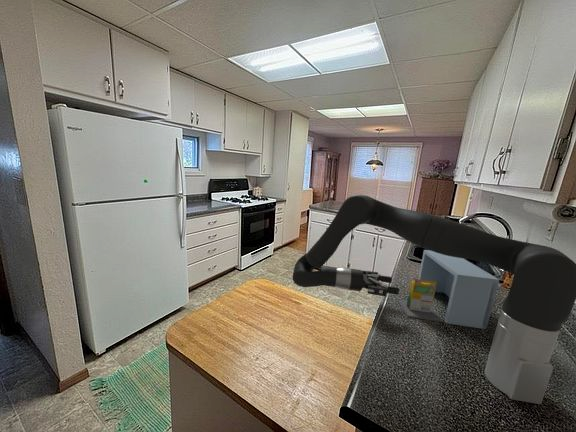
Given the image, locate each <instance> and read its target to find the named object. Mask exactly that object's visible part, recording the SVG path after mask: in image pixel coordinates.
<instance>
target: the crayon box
mask: <svg viewBox="0 0 576 432" xmlns="http://www.w3.org/2000/svg"><path fill="white" fill-rule="evenodd" d="M424 282H428V283H424ZM436 284H437V282H435V281H427V280H418V278H417V279H416V278H414V280H410V284H409V290H408V295H407V296H408V297H407V300H406V301H407V307H408V308H409V310H415V311H423V312H429V313H431V309H432V308H433V303H434V299H435V294H436V292H435V289H436Z"/></svg>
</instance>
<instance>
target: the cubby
mask: <svg viewBox="0 0 576 432" xmlns="http://www.w3.org/2000/svg"><path fill="white" fill-rule="evenodd" d="M422 253H423V254H422V259H421V264H420V268H419V274H418V278H417V279H418V280H427V281H435V282H437V284H436V289H435V293H441V294H442V293H443V294H444V295H446V296H447V297H448V303H447V309H446V312H445V317H444V322H445V323H446V324H449V325H456V326H463V327H468V328H477V329H481V330H482V329H484V330H487V327H488V325H489V321H490V317H491V312H492V308H493V306H494V301H495V298H496V294H497V290H498V286H499V284H500V279H499V278H498V277H496V276H494V275H492V274H491V273H489V272H487V271H485V270H484V269H482V268H481V267H479V266H477V265H475V264H474V263H473V262H470V261H468V259H464V258H457V257H452V256H447V255H443V254H439V253H436V252H433V251H431V250H428V249H423V251H422ZM424 283H428V282H424Z"/></svg>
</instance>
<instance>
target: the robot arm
mask: <svg viewBox="0 0 576 432" xmlns="http://www.w3.org/2000/svg"><path fill="white" fill-rule="evenodd" d="M359 225H360V226H361V225H369V226H374V227H378V228H380V229H384V230H387V231H390V232H392V233H394V234H395V235H397V236H398V237H400V238H401V239H404V240H405V241H407V242H409V243H411V244H413V245H415V246H417V247H420V248H423V249H424V250H430V251H433V252H436V253H439V254H443V255H447V256H452V257H457V258H464V259H465V260H472V261H476V262H481V263H483V264H488V265H490V266H493V267H495V268H497V269H500V270H502V271H504V272H508V273H509V274H511V275H513V277H512V281H511V284H510V287H509V291H508V294H507V296H506V297H505V298H504V300H503V302H502V303H503V304H502V305H501V310H500V313H499V318H498V320H497V325H496V327H495V332H494V335H493V338H492V343H491V346H490V348H489V349H490V350H489V354H488V358H487V362H486V364H485V369H484V376H485V377H486V379H487V380H488V381H489V383H491V384H492V385H493V386H494V387H495V388H496V389H498V391H501V392H502V393H503V394H505V395H506V396H507V397H508V398H509V399H510V400H514V401H518V402H519V401H521V402H523V403H524V402H525V403H531V404H536V405H542V403H543V399H544V397H545V393H546V391H547V387H548V385H549V382H550V379H551V377H552V373H553V370H554V366H553V365H552V364H551V363H550V361H551V357H552V355H553V352H554V349H555V346H556V343H557V340H558V338H559V334H560V330H561V328H562V325H563V324H564V323H565V322H566V321H567V320H568V319H569V317H570V315H571V314H572V310H573V308H574V305H575V303H576V262H575V261H574V260H572V258H570V257H569V256H567V254H565V253H563V252H562V251H560V250H558V249H556V248H553V247H550V246H548V245H547V246H546V245H542V244H537V243H531V242H525V241H522V240H521V241H520V240H518V239H517V240H516V239H512V238H507V237H503V236H499V235H494V234H492V233H489V232H486V231H483V230H481V229H478V228H475V227H473V226H469V225H467V224H464V223H460V222H459V221H455V220H452V219H449V218H445V217H442V216H438V215H434V214H430V213H426V212H422V211H418V210H417V211H416V210H414V209H406V208H402V207H397V206H393V205H390V204H388V203H385V202H383V201H380V200H378V199H375V198H374V197H371V196H368V195H364V194H354V195H350V196H348V197H347V198H346V199H345V200H344V201H343V203H342V205H341V206H340V207H339V209H338V211H337V212H336V215H335V216H334V218H333V219H332V221H331V222H330V224H329V225H328V227H327V228H326V230H325V231H324V233H323V234H322V235H321V236H320V237H319V239H318V240H317V241H316V242H315V243H314V245H313V246H312V247H311V248H310V249H309V250H308V251H307V252H306V253H304V254H303V255H302V256H301V257H300V258H298V260H297V261H296V263H295V264H294V267H293V273H292V281H293V283H294V284H295V285H296V286H298V287H301V288H312V287H321V286H325V287H332V288H338V289H342V290H347V291H348V290H349V291H356V292H361V291H362V290H363V289H367V294H368V295H375V296H381V297H387V294H392V295H398V294H399V293H400V287H396V286H390V285H386V284H383V283H388V284H392V282H393V281H392V280H393V279H392V277H391V276H388V275H382V274H380V273H379V272H378V271H371V270H362V269H356V268H348V267H335V266H329V265H325V264H326V263H327V262H328V261H329V259H331V258H332V257H333V255H334V254H335V252H336V251H337V249H338V247H339V246H340V245H341V243H342V241H343V239H345V237H346V236H347V235H348V234H349V233H351V232H352V231H353V230H354V229H355V228H357V227H359ZM315 269H319V270H315ZM314 270H315V271H314Z"/></svg>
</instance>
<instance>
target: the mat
mask: <svg viewBox="0 0 576 432" xmlns="http://www.w3.org/2000/svg"><path fill="white" fill-rule="evenodd" d="M407 301H408V300H401V299H397V302H398V304H399V306H400V307H401V309H402V310H403V312H404V314H405V316H406V318H413V319H419V320H427V321H433V322H441V323H442V322H443V319H442V318H441V317H440V315H439V314H438V313H437V312H436V311H435V310H434V308H433V307H432V309H431V313H429V312H423V311H415V310H409V308H408V307H407Z"/></svg>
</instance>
